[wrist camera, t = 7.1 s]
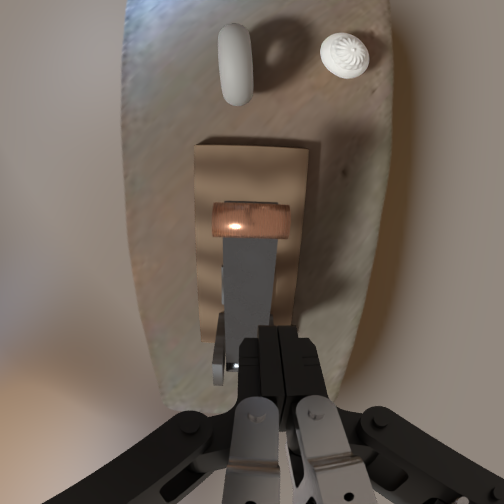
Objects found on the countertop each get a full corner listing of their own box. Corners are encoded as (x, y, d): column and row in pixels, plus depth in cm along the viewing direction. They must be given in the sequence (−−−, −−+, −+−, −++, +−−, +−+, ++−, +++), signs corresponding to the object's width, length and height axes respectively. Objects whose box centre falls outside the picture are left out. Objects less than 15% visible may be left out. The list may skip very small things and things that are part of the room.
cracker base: (196, 144, 37) (173, 154, 25) (306, 148, 38) (332, 160, 26) (202, 334, 49) (192, 393, 37) (287, 336, 50) (296, 395, 38)
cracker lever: (218, 183, 29) (211, 212, 24) (284, 185, 29) (291, 214, 24) (222, 343, 43) (220, 378, 38) (267, 344, 43) (268, 379, 38)
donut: (253, 107, 35) (255, 101, 26) (226, 109, 35) (219, 104, 26) (248, 35, 31) (248, 9, 22) (221, 38, 31) (213, 12, 22)
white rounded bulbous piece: (314, 36, 31) (327, 20, 25) (359, 43, 31) (379, 31, 25) (314, 78, 34) (327, 70, 27) (358, 85, 34) (379, 79, 28)
